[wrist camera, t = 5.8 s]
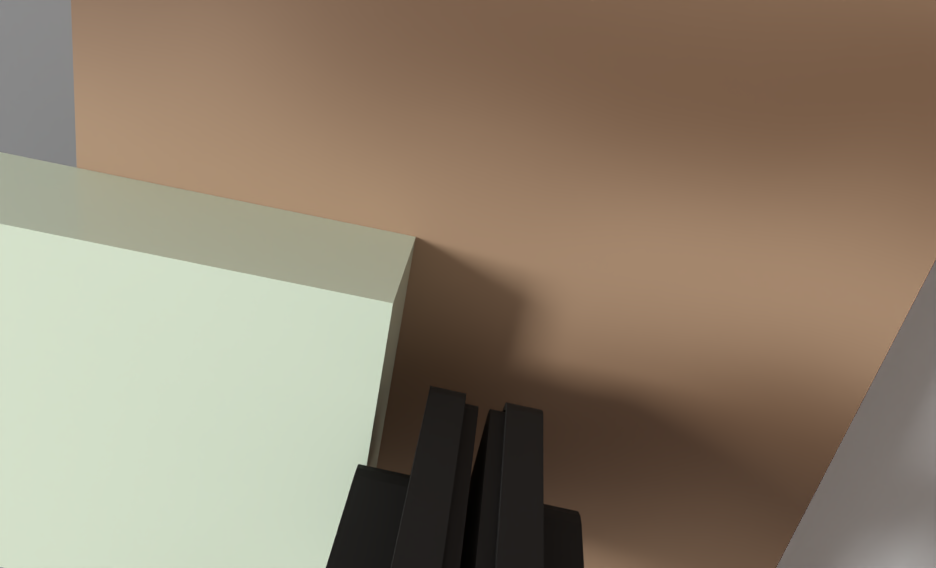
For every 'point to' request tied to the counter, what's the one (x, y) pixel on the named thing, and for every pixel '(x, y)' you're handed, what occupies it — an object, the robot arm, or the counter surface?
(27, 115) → the mat
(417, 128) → the board
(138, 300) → the tile
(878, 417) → the counter surface
